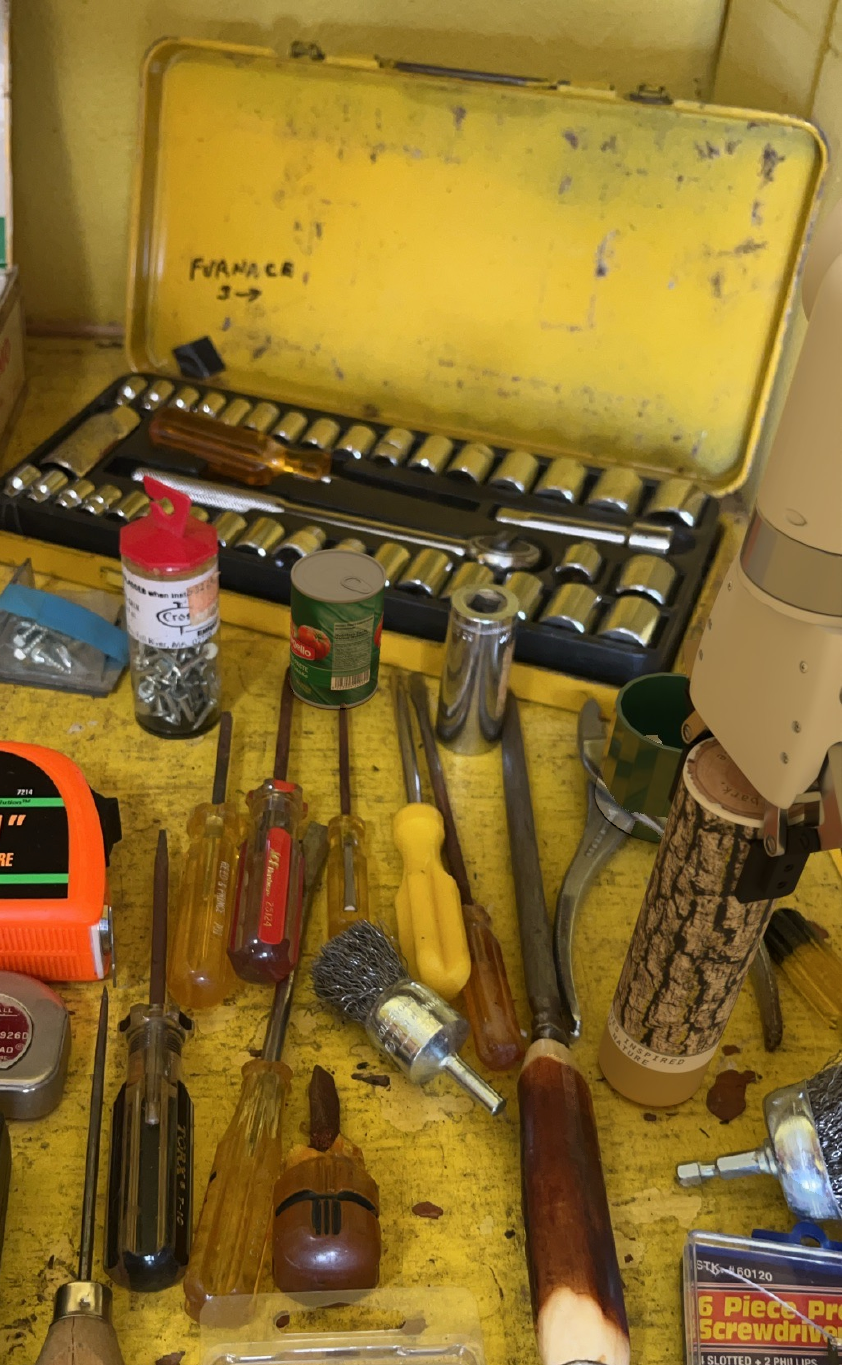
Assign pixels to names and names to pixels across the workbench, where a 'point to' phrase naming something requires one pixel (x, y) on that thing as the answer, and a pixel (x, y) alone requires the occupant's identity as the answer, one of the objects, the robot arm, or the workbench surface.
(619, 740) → the tool cup
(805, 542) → the robot arm
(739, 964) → the paper tube
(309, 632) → the canned tomato
